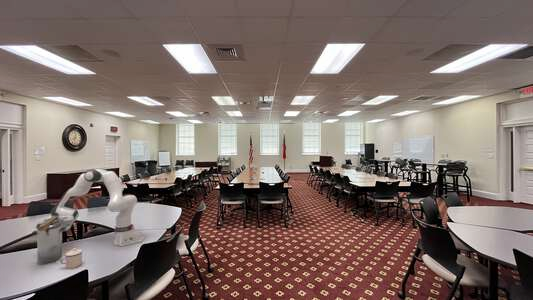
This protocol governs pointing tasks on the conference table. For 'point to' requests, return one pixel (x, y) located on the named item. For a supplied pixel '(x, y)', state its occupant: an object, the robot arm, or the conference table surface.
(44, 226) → the lock bar
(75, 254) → the teacup with lid
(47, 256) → the grey tall piece
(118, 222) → the robot arm
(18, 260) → the conference table surface
